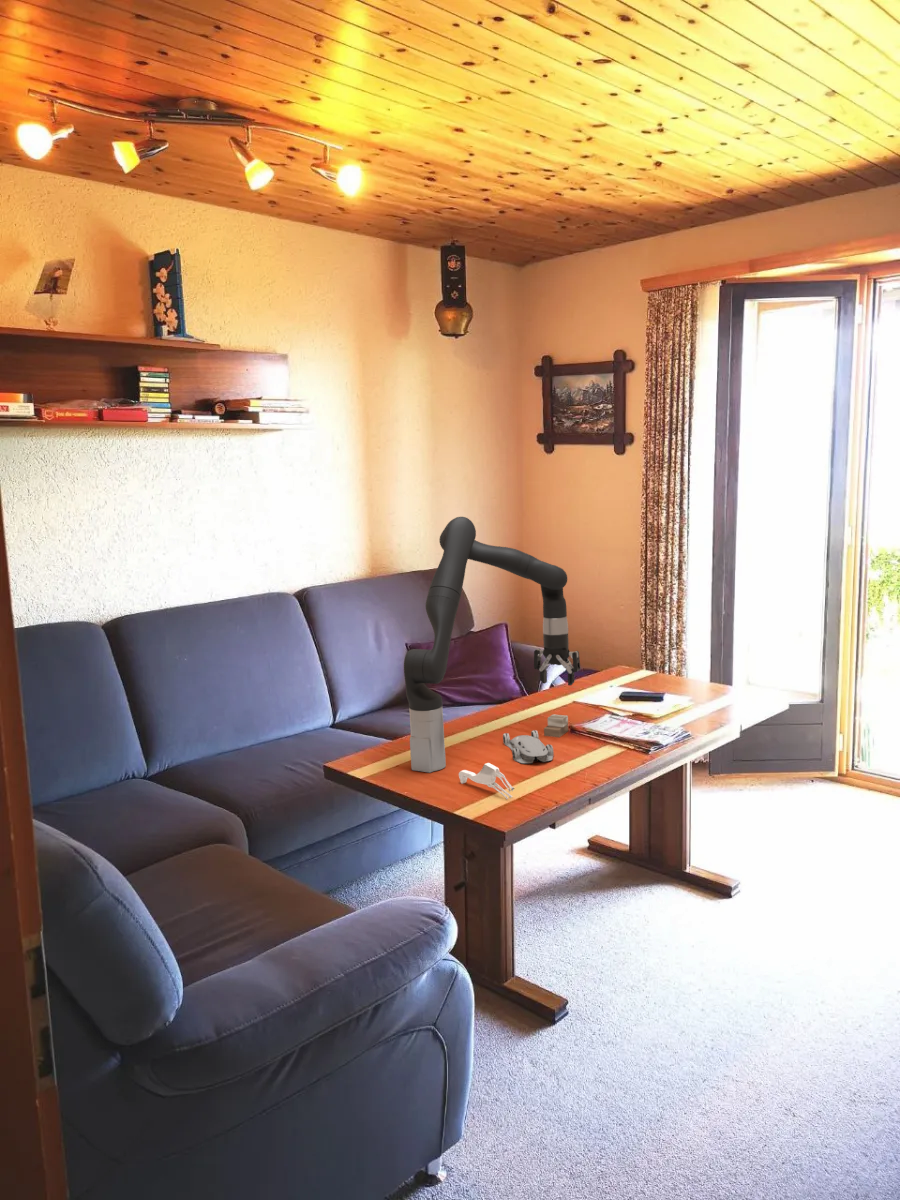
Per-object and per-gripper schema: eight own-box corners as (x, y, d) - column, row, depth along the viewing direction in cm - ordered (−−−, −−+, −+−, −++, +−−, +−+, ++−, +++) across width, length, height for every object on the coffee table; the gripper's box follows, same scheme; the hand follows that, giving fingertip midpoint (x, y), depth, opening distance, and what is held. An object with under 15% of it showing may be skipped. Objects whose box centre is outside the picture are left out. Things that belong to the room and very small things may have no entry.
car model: (537, 739, 278) (536, 723, 277) (558, 764, 254) (558, 747, 253) (500, 743, 276) (500, 726, 275) (519, 769, 252) (518, 751, 251)
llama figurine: (506, 818, 233) (461, 777, 245) (516, 783, 228) (470, 743, 240) (501, 821, 232) (456, 779, 243) (511, 785, 227) (465, 744, 239)
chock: (553, 729, 286) (552, 714, 285) (568, 731, 283) (567, 715, 282) (544, 736, 280) (543, 720, 279) (559, 737, 277) (558, 721, 276)
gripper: (528, 632, 278) (531, 685, 281) (572, 634, 271) (574, 688, 274) (539, 628, 285) (541, 679, 287) (582, 630, 278) (584, 682, 280)
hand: (557, 684), depth 280 cm, fingers open, 8 cm apart
